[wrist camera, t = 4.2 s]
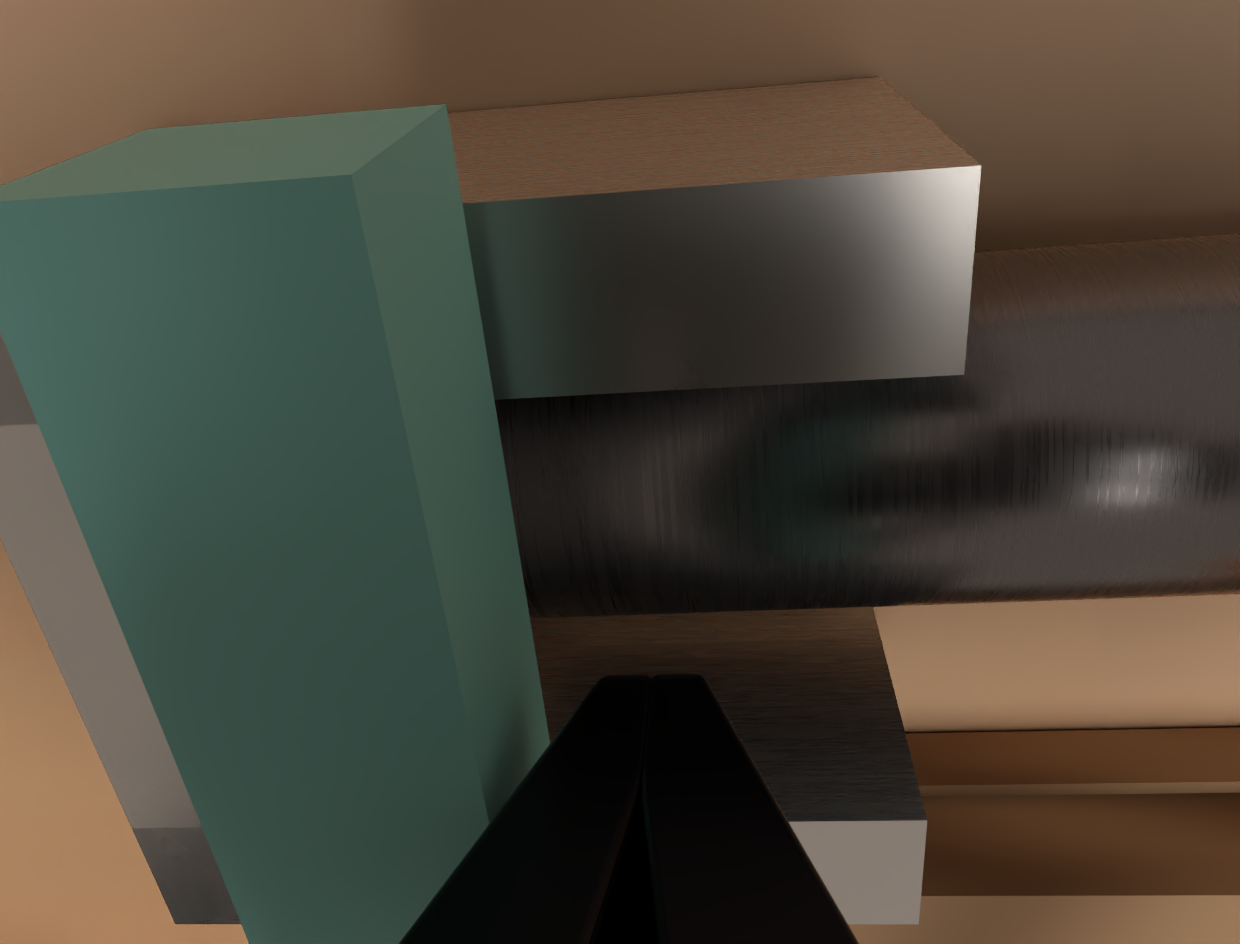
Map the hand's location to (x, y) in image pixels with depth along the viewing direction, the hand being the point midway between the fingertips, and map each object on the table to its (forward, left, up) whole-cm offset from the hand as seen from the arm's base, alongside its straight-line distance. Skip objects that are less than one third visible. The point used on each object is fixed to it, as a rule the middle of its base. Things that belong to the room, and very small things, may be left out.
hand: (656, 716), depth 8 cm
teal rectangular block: (-2, 0, -1) cm, 2 cm away
